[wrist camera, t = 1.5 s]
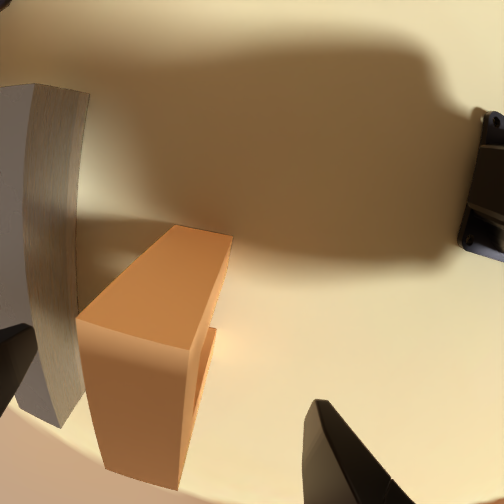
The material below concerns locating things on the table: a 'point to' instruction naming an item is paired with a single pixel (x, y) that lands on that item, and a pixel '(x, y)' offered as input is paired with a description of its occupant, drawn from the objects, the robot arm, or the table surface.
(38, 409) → the rail
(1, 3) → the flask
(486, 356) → the table surface
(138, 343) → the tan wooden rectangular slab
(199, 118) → the table surface
